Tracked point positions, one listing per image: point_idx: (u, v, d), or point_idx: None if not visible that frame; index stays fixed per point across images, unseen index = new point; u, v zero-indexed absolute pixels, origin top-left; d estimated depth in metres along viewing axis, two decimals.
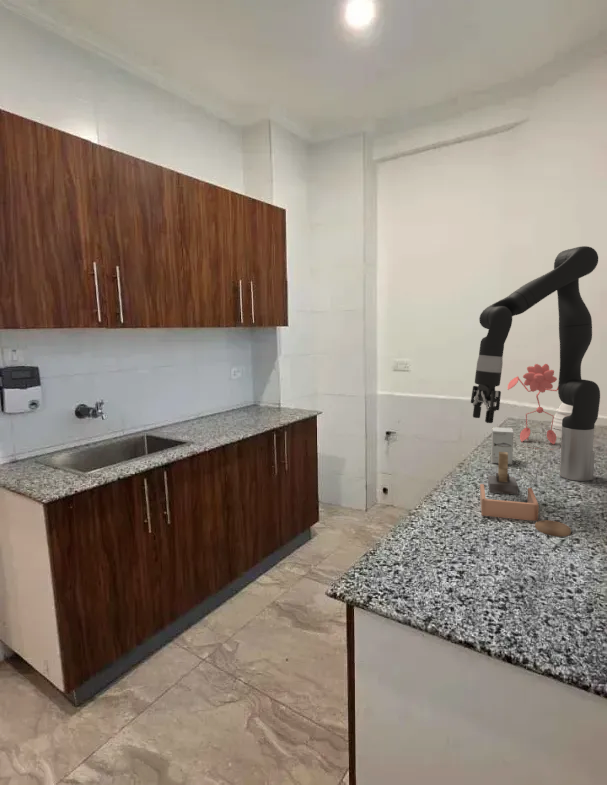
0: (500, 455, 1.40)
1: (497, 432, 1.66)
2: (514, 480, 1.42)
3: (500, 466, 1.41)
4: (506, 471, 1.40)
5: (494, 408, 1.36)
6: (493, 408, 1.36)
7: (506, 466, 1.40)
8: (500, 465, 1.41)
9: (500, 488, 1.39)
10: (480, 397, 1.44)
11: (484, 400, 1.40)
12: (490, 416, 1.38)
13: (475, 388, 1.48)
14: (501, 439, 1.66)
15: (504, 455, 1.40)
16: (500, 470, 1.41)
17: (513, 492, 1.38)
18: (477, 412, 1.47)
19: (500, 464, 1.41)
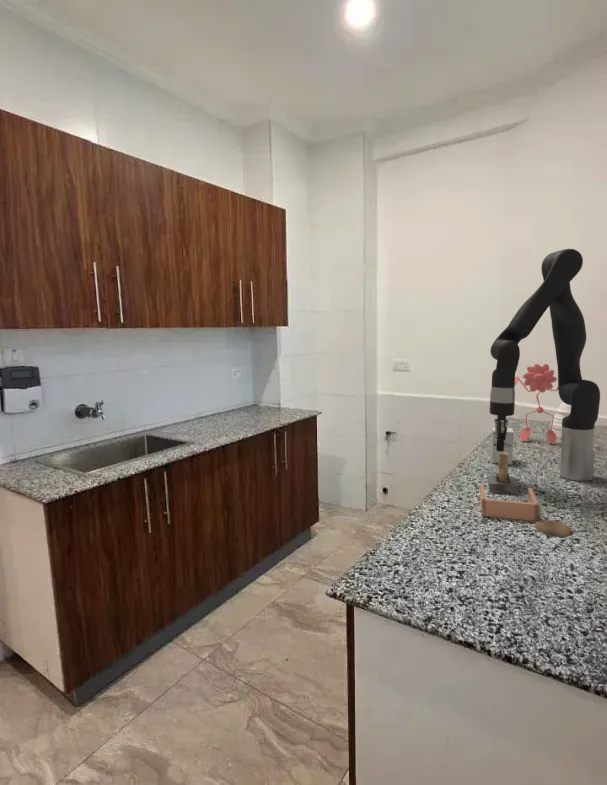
0: (500, 455, 1.40)
1: None
2: (514, 480, 1.42)
3: (500, 466, 1.41)
4: (506, 471, 1.40)
5: (500, 438, 1.47)
6: (499, 438, 1.47)
7: (506, 466, 1.40)
8: (500, 465, 1.41)
9: (500, 488, 1.39)
10: None
11: (495, 430, 1.49)
12: (499, 445, 1.49)
13: None
14: None
15: (504, 455, 1.40)
16: (500, 470, 1.41)
17: (513, 492, 1.38)
18: None
19: (500, 464, 1.41)
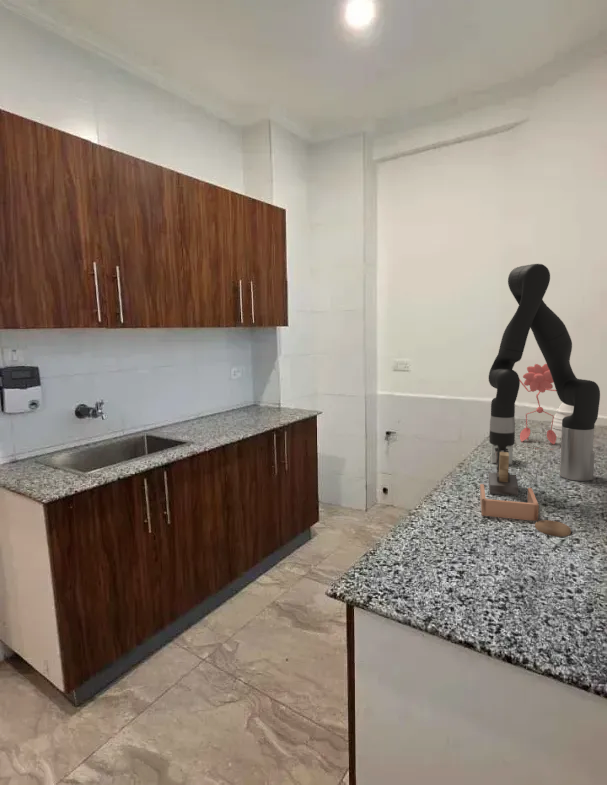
0: (501, 456, 1.37)
1: None
2: (515, 479, 1.40)
3: (501, 467, 1.38)
4: (507, 472, 1.38)
5: None
6: None
7: (507, 467, 1.38)
8: (501, 466, 1.38)
9: (500, 489, 1.38)
10: None
11: None
12: None
13: None
14: None
15: (505, 456, 1.37)
16: (501, 471, 1.39)
17: (513, 493, 1.37)
18: None
19: (501, 465, 1.38)
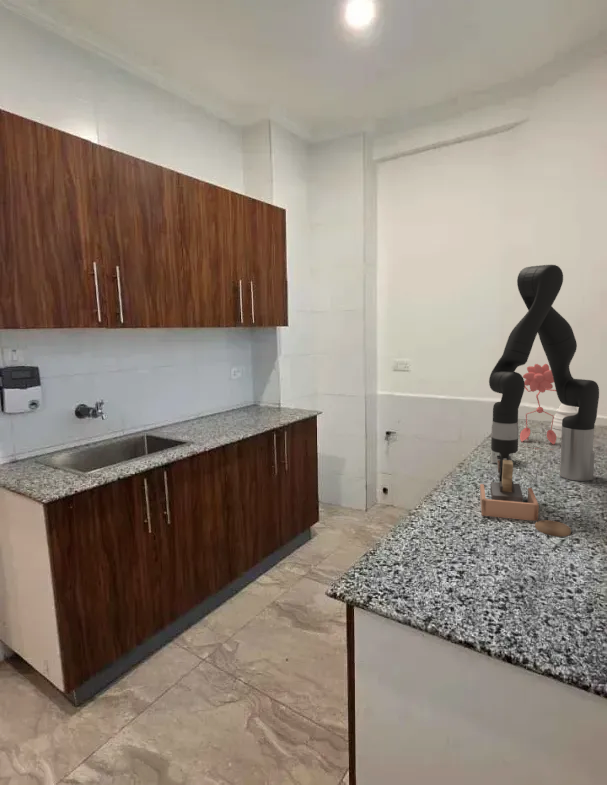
0: (504, 465, 1.29)
1: None
2: (519, 489, 1.32)
3: (504, 476, 1.30)
4: (510, 481, 1.30)
5: None
6: None
7: (511, 476, 1.29)
8: (504, 475, 1.30)
9: (504, 500, 1.29)
10: None
11: (498, 468, 1.37)
12: None
13: None
14: None
15: (509, 465, 1.29)
16: (504, 480, 1.30)
17: None
18: None
19: (504, 474, 1.30)
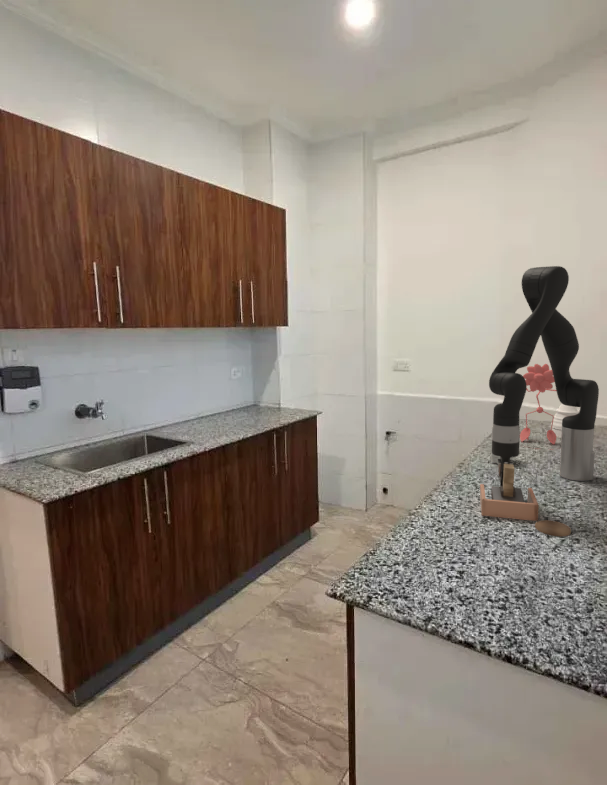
0: (505, 469, 1.25)
1: None
2: (520, 493, 1.28)
3: (505, 480, 1.26)
4: (512, 486, 1.26)
5: None
6: None
7: (512, 481, 1.26)
8: (505, 479, 1.26)
9: None
10: None
11: (498, 472, 1.33)
12: None
13: None
14: None
15: (510, 469, 1.25)
16: (505, 485, 1.27)
17: None
18: None
19: (505, 478, 1.26)
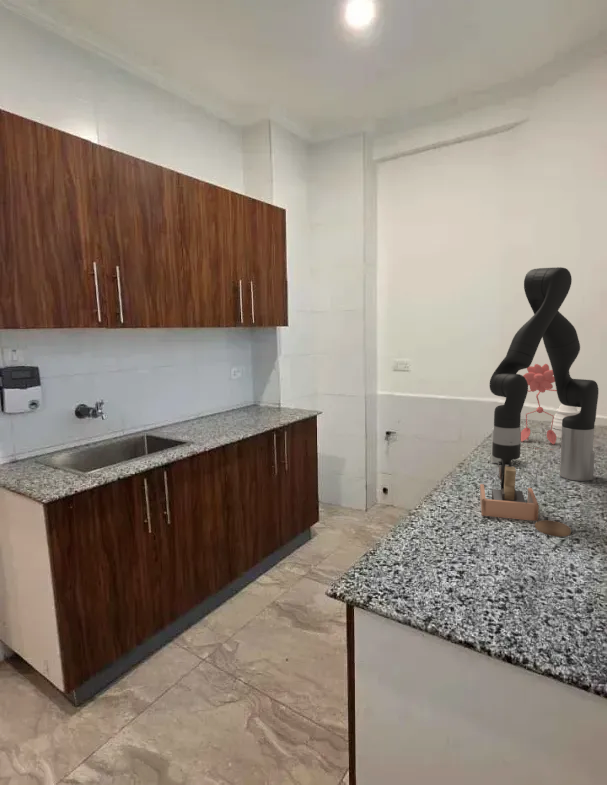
0: (507, 472, 1.23)
1: None
2: (521, 496, 1.26)
3: (506, 483, 1.24)
4: (513, 489, 1.24)
5: None
6: (503, 484, 1.29)
7: (513, 483, 1.24)
8: (506, 482, 1.24)
9: None
10: None
11: (499, 474, 1.31)
12: None
13: None
14: None
15: (511, 472, 1.23)
16: (506, 487, 1.24)
17: None
18: None
19: (506, 481, 1.24)
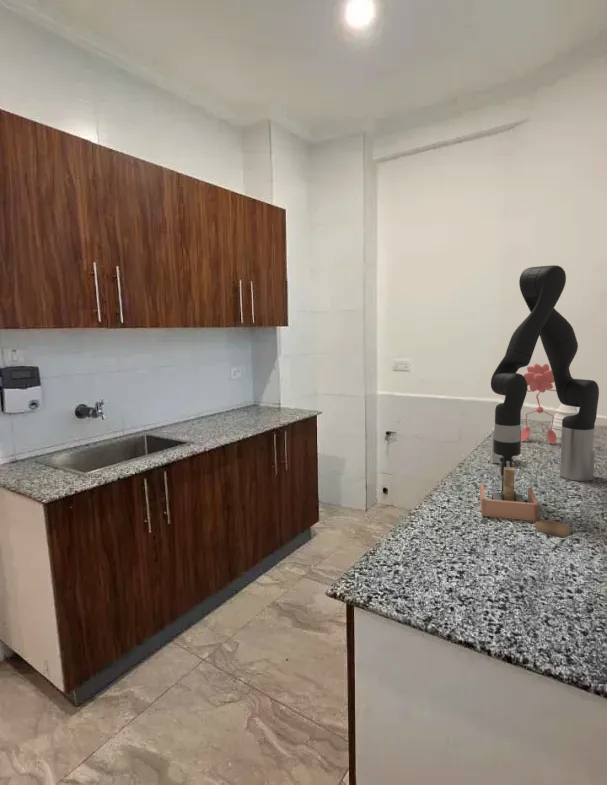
0: (506, 471, 1.25)
1: None
2: (521, 499, 1.27)
3: (506, 483, 1.25)
4: (512, 489, 1.25)
5: None
6: None
7: (513, 483, 1.25)
8: (506, 482, 1.25)
9: None
10: None
11: (500, 470, 1.35)
12: None
13: None
14: None
15: (510, 471, 1.25)
16: (506, 488, 1.26)
17: None
18: None
19: (506, 481, 1.25)
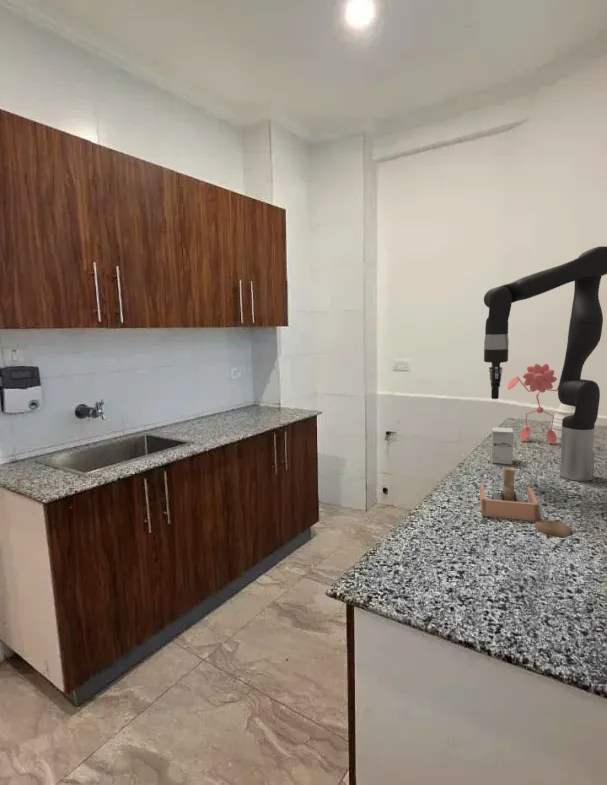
0: (506, 471, 1.25)
1: (497, 432, 1.66)
2: (521, 499, 1.27)
3: (506, 483, 1.25)
4: (512, 489, 1.25)
5: (494, 385, 1.49)
6: (493, 385, 1.49)
7: (513, 483, 1.25)
8: (506, 482, 1.25)
9: None
10: None
11: (490, 377, 1.51)
12: (494, 392, 1.51)
13: None
14: (501, 439, 1.66)
15: (510, 471, 1.25)
16: (506, 488, 1.26)
17: None
18: None
19: (506, 481, 1.25)
